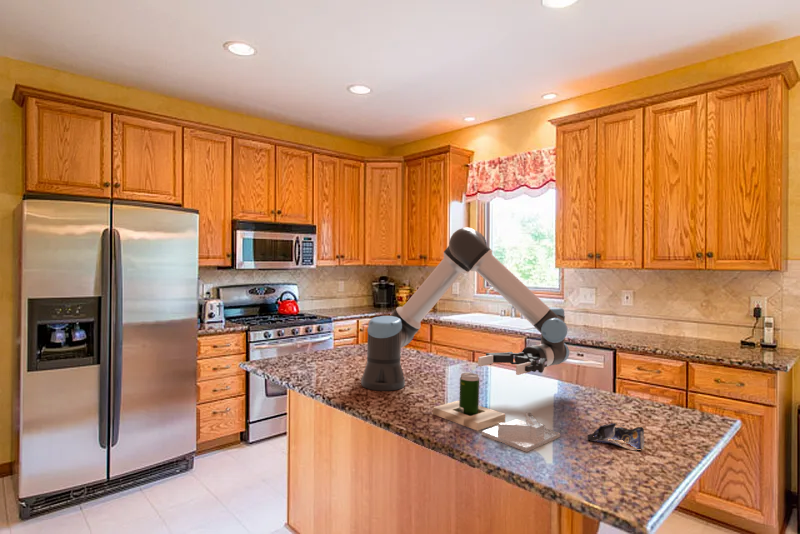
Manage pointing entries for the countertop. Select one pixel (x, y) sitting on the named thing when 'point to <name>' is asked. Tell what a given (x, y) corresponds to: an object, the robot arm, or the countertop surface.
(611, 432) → the snack package
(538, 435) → the v block
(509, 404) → the countertop surface
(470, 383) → the green soda can
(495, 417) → the beige rectangular frame
